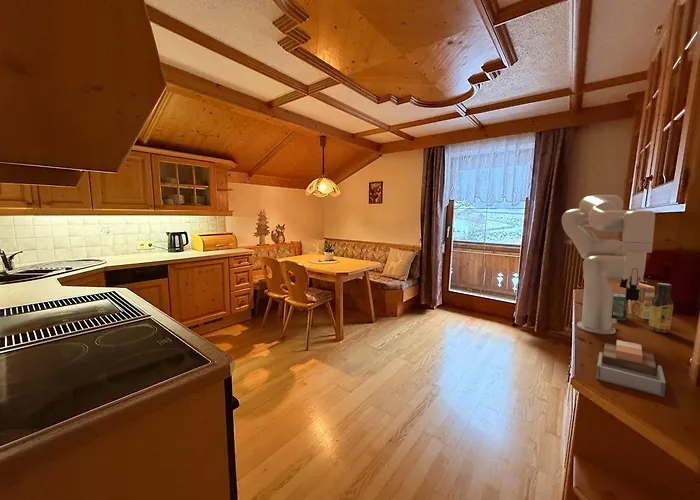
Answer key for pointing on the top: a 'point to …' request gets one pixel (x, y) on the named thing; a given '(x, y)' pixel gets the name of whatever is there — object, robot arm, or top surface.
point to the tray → (632, 378)
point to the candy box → (642, 302)
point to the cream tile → (629, 344)
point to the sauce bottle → (661, 309)
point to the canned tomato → (619, 306)
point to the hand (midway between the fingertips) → (631, 299)
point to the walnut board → (645, 367)
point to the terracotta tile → (629, 354)
